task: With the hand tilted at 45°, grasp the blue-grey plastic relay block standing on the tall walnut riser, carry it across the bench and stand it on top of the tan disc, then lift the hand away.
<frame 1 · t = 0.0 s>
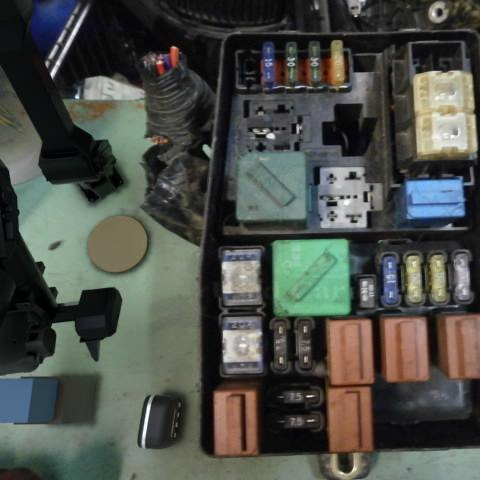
hand: (60, 363, 68), 15 cm above the table, tool tilted 35°, fingers open, 9 cm apart
relay: (40, 400, 70), point 11 cm above the table, touching riser
battery charger: (173, 419, 81), on the table
riser: (73, 399, 81), on the table
tan disc: (119, 245, 87), on the table
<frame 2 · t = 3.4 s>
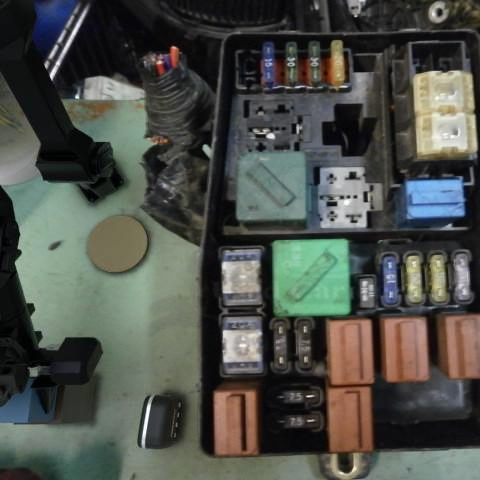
hand: (31, 411, 68), 13 cm above the table, tool tilted 45°, fingers closed on relay, 4 cm apart
relay: (40, 400, 70), point 11 cm above the table, touching gripper, riser
everything else where it was.
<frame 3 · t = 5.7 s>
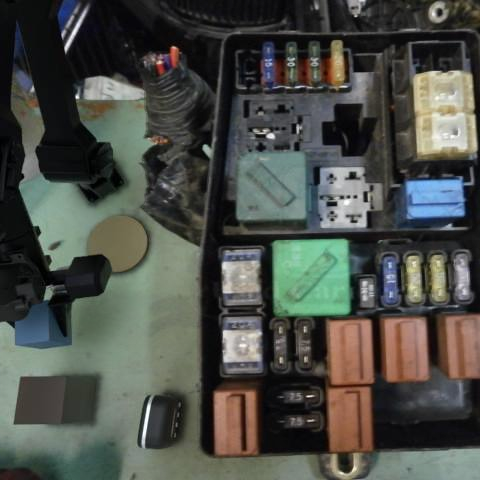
hand: (49, 337, 70), 14 cm above the table, tool tilted 45°, fingers closed on relay, 4 cm apart
relay: (56, 328, 72), point 12 cm above the table, touching gripper
everything else where it was.
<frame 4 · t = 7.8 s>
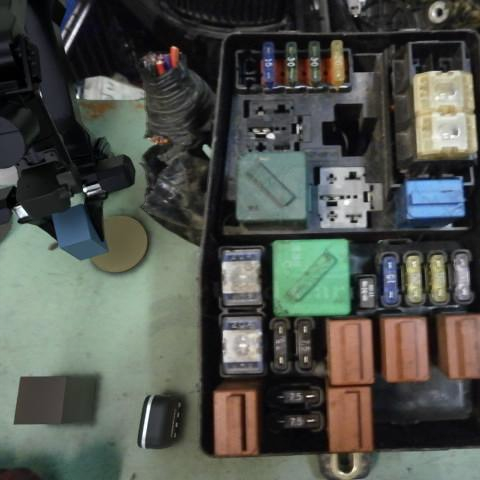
hand: (87, 245, 73), 14 cm above the table, tool tilted 45°, fingers closed on relay, 4 cm apart
relay: (90, 240, 75), point 12 cm above the table, touching gripper
everything else where it was.
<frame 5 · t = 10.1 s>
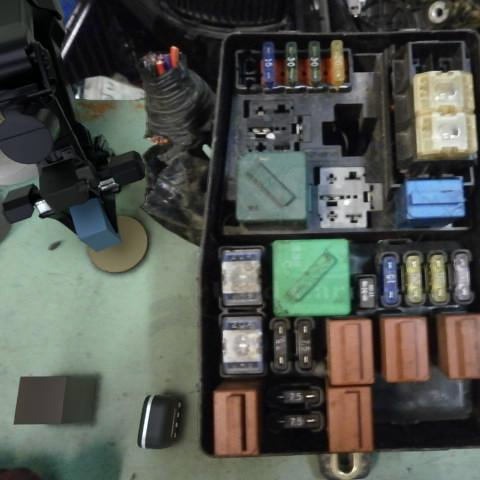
hand: (102, 237, 79), 9 cm above the table, tool tilted 45°, fingers closed on relay, 4 cm apart
relay: (105, 232, 81), point 7 cm above the table, touching gripper
everything else where it was.
when the fingers open (3 cm above the table, at t = 12.2 s): relay stays where it is, resting on tan disc.
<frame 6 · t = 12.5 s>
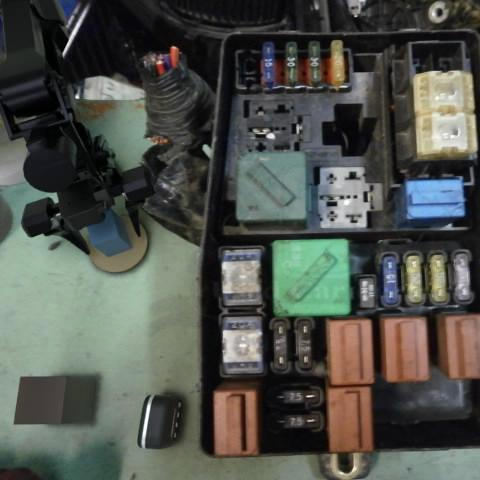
hand: (114, 244, 84), 3 cm above the table, tool tilted 40°, fingers open, 8 cm apart
relay: (116, 238, 87), point 1 cm above the table, touching tan disc
everything else where it was.
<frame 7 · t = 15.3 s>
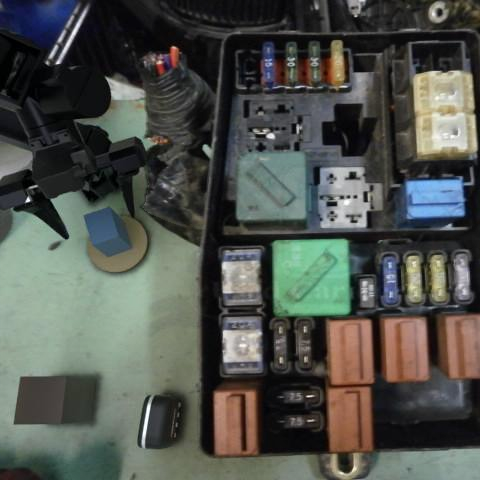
hand: (101, 227, 74), 13 cm above the table, tool tilted 45°, fingers open, 9 cm apart
nothing on the table moved.
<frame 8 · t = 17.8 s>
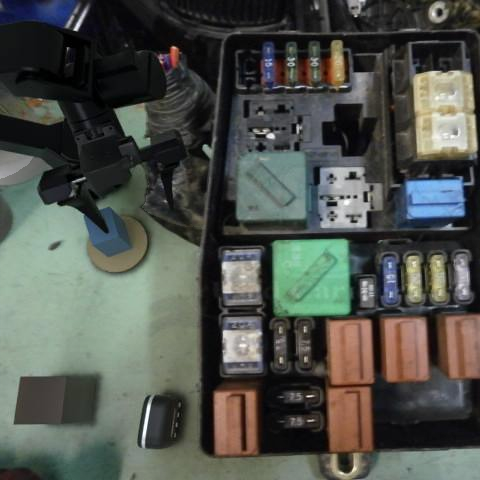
hand: (140, 221, 75), 14 cm above the table, tool tilted 45°, fingers open, 9 cm apart
nothing on the table moved.
at the end: relay 0.7 cm off-centre on the tan disc, point 1.2 cm above the tan disc's base; relay tilted 0°; the gripper is holding nothing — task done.
